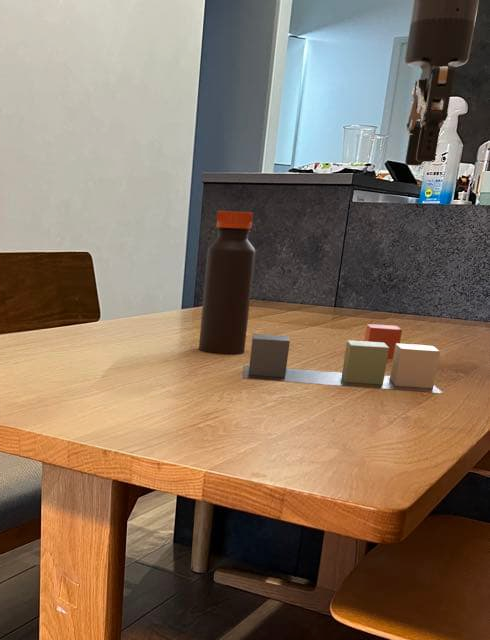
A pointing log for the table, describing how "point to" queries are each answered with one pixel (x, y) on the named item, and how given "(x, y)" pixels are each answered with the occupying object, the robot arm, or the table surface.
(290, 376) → the light grey flat plate
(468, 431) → the table surface
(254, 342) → the slate block
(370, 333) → the terracotta block
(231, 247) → the bottle
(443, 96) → the robot arm
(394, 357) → the cream block
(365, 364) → the sage block
